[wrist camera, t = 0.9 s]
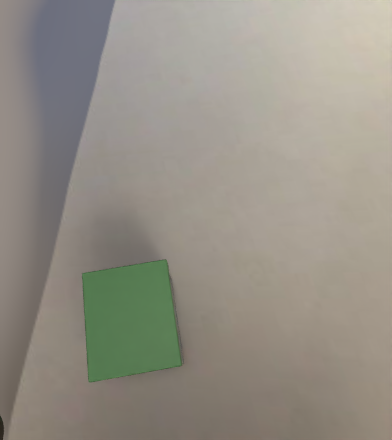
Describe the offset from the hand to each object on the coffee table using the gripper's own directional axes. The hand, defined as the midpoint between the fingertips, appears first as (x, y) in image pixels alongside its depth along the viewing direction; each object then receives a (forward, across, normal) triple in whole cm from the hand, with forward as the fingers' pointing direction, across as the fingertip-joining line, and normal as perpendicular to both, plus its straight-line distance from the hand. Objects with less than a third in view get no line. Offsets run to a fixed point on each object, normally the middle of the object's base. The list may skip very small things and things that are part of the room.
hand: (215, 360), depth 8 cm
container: (+15, +2, +12) cm, 19 cm away
